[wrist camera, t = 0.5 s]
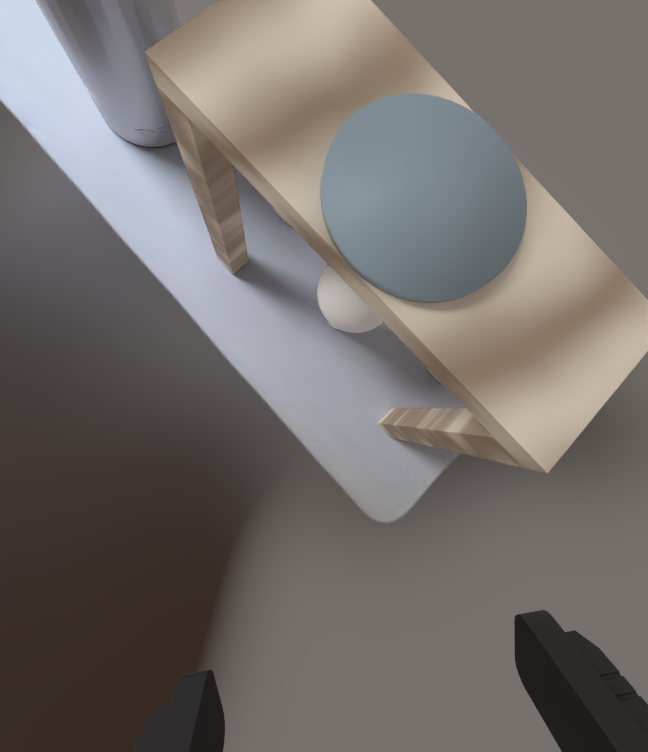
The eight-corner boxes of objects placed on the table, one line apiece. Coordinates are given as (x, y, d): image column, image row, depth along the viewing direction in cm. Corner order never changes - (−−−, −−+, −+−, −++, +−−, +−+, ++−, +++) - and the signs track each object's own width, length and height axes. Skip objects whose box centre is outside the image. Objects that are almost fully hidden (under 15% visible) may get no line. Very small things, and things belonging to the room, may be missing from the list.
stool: (218, 259, 35) (138, 36, 14) (289, 199, 36) (313, -82, 16) (391, 437, 36) (558, 476, 15) (453, 370, 37) (683, 321, 16)
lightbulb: (329, 360, 35) (355, 339, 25) (295, 308, 35) (305, 264, 25) (379, 328, 36) (425, 293, 26) (345, 277, 36) (377, 221, 26)
